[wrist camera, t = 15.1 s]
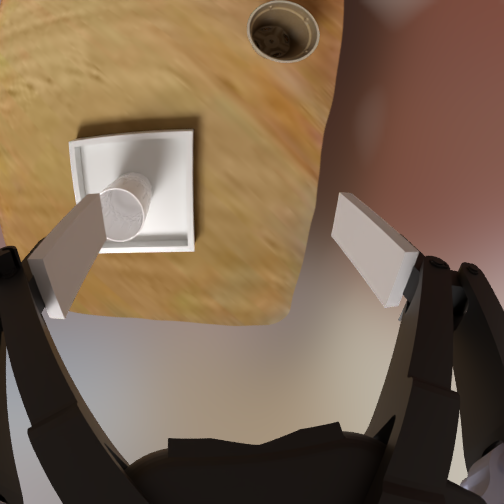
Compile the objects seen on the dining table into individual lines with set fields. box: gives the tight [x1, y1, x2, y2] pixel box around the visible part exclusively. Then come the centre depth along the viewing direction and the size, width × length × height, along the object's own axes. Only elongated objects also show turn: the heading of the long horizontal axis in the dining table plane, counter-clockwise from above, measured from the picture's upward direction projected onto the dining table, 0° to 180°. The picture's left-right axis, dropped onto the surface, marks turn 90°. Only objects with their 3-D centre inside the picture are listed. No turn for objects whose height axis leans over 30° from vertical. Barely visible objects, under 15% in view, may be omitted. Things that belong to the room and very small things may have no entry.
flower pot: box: [247, 0, 320, 63], centre depth 32 cm, size 9×9×9 cm
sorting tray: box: [69, 129, 195, 253], centre depth 43 cm, size 20×20×3 cm
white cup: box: [100, 172, 153, 242], centre depth 40 cm, size 8×8×10 cm
